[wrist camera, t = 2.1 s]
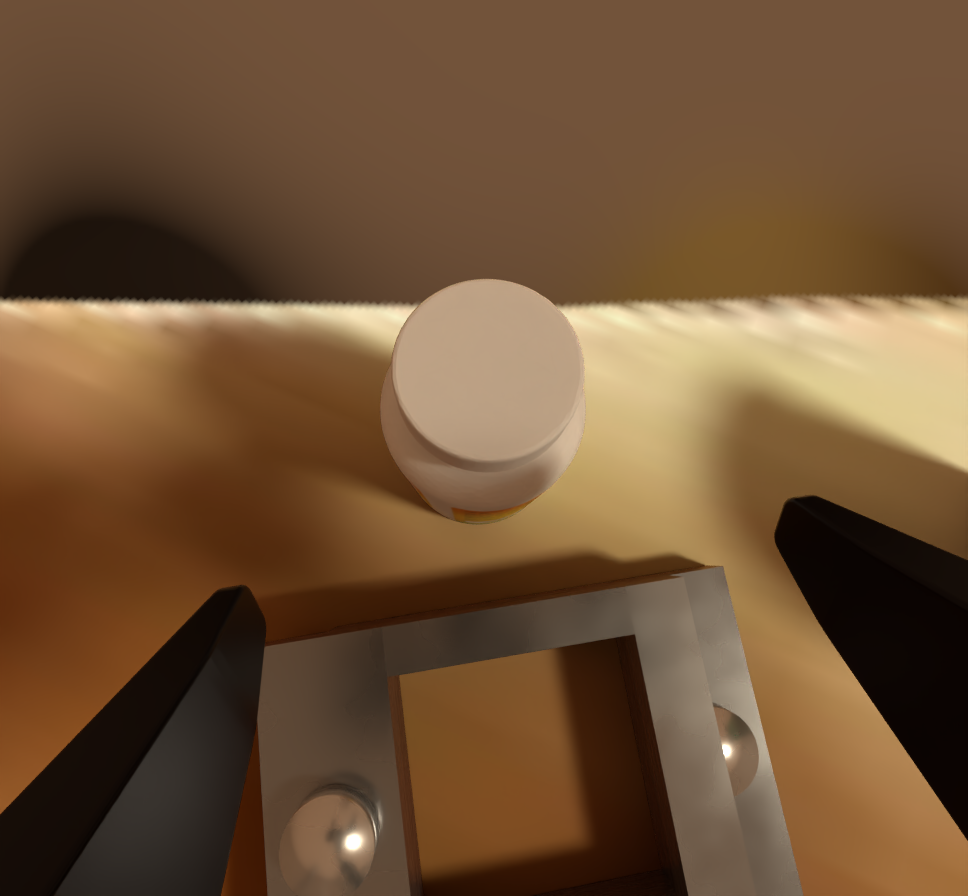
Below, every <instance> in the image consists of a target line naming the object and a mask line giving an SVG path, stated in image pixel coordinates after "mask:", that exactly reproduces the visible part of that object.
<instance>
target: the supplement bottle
mask: <svg viewBox="0 0 968 896" xmlns="http://www.w3.org/2000/svg"><path fill="white" fill-rule="evenodd" d="M584 378H585V368H584V358H583V354H582V349H581V346H580V343H579V340H578V338H577V335H576V333H575V331H574V329H573V327H572V326H571V324H570V323H569V321H568V320H567V318H566V317H565V316H564V315H563V313H562V312H561V311H560V310H559V309H558V308H557V307H556V306H555V305H553V304H552V303H551V302H550V301H549V300H548V299H547V298H545V297H543V296H541V295H540V294H539V293H537V292H535V291H534V290H531V289H529V288H527V287H525V286H522V285H519V284H516V283H512V282H509V281H503V280H495V279H477V280H469V281H464V282H460V283H457V284H454V285H451V286H449V287H446V288H444V289H442V290H440V291H438V292H436V293H435V294H433V295H431V296H430V297H428V298H427V299H426V300H425V301H423V302H422V303H421V304H420V305H419V306H418V307H417V308H416V309H415V310H414V311H413V312H412V314H411V315H410V316H409V317H408V319H407V320H406V322H405V323H404V325H403V327H402V328H401V330H400V333H399V335H398V337H397V339H396V342H395V346H394V350H393V354H392V362H391V364H390V367H389V369H388V371H387V373H386V376H385V379H384V383H383V387H382V393H381V401H380V418H381V426H382V431H383V435H384V438H385V441H386V444H387V446H388V449H389V451H390V454H391V455H392V457H393V459H394V461H395V463H396V464H397V466H398V468H399V469H400V471H401V472H402V473H403V475H404V476H405V477H406V478H407V479H408V480H409V482H410V483H411V484H412V486H413V487H414V488H415V490H416V491H417V493H418V494H419V495H420V496H421V498H422V499H423V500H424V501H425V502H426V503H427V504H428V505H429V506H430V507H432V508H433V509H434V510H436V511H437V512H439V513H440V514H442V515H443V516H445V517H447V518H449V519H452V520H454V521H458V522H462V523H467V524H488V523H494V522H498V521H501V520H504V519H506V518H508V517H511V516H513V515H514V514H516V513H518V512H519V511H521V510H522V509H523V508H524V507H526V506H527V505H528V504H529V503H531V502H532V501H533V500H534V499H536V498H537V497H538V496H540V495H541V494H542V493H544V492H545V491H546V490H547V489H548V488H550V487H551V486H552V485H553V484H554V483H555V482H556V481H557V480H558V479H559V478H560V477H561V475H562V474H563V473H564V472H565V470H566V469H567V468H568V466H569V465H570V463H571V462H572V460H573V458H574V456H575V454H576V452H577V450H578V448H579V445H580V442H581V439H582V436H583V431H584V425H585V408H586V406H585V394H584V389H583V387H584Z"/></svg>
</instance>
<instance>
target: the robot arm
mask: <svg viewBox="0 0 968 896" xmlns="http://www.w3.org/2000/svg"><path fill="white" fill-rule="evenodd" d="M774 538H775V543H776V546H777V548H778V550H779V552H780V554H781V556H782V557H783V559H784V561H785V563H786V565H787V566H788V568H789V570H790V572H791V574H792V576H793V577H794V579H795V581H796V583H797V585H798V586H799V588H800V590H801V592H802V594H803V595H804V597H805V599H806V601H807V603H808V605H809V606H810V608H811V610H812V612H813V614H814V615H815V617H816V619H817V620H818V622H819V624H820V625H821V627H822V629H823V630H824V632H825V633H826V635H827V636H828V638H829V639H830V641H831V642H832V644H833V645H834V647H835V648H836V650H837V651H838V652H839V654H840V655H841V657H842V658H843V660H844V661H845V663H846V664H847V666H848V667H849V668H850V670H851V671H852V673H853V674H854V676H855V677H856V679H857V680H858V682H859V683H860V685H861V686H862V687H863V689H864V690H865V692H866V693H867V695H868V696H869V698H870V699H871V701H872V702H873V703H874V705H875V706H876V708H877V709H878V711H879V712H880V714H881V715H882V717H883V718H884V719H885V721H886V722H887V724H888V725H889V727H890V728H891V730H892V731H893V733H894V734H895V736H896V737H897V738H898V740H899V741H900V743H901V744H902V746H903V747H904V749H905V750H906V752H907V753H908V754H909V756H910V757H911V759H912V760H913V762H914V763H915V765H916V766H917V768H918V769H919V771H920V772H921V773H922V775H923V776H924V778H925V779H926V781H927V782H928V784H929V785H930V787H931V788H932V789H933V791H934V792H935V794H936V795H937V797H938V798H939V800H940V801H941V803H942V804H943V805H944V807H945V808H946V810H947V811H948V813H949V814H950V816H951V817H952V819H953V820H954V822H955V823H956V824H957V826H958V827H959V829H960V830H961V832H962V833H963V835H964V836H965V838H966V839H967V840H968V560H966V559H963V558H961V557H959V556H956V555H954V554H951V553H949V552H947V551H944V550H942V549H940V548H937V547H935V546H933V545H930V544H928V543H926V542H923V541H921V540H919V539H916V538H914V537H912V536H909V535H907V534H905V533H902V532H900V531H898V530H895V529H893V528H891V527H888V526H886V525H884V524H881V523H879V522H877V521H874V520H872V519H870V518H867V517H865V516H863V515H860V514H858V513H855V512H853V511H851V510H848V509H846V508H844V507H841V506H839V505H837V504H834V503H832V502H830V501H827V500H825V499H823V498H820V497H818V496H815V495H805V496H799V497H793V498H789V499H788V500H787V501H786V502H785V503H784V505H783V508H782V511H781V514H780V517H779V520H778V523H777V526H776V529H775V533H774ZM265 638H266V622H265V618H264V615H263V613H262V611H261V609H260V607H259V605H258V604H257V602H256V600H255V598H254V596H253V594H252V592H251V590H250V589H249V588H248V587H247V586H245V585H238V586H232V587H226V588H221V589H219V590H217V591H216V592H215V593H214V594H213V595H212V596H211V597H210V598H209V599H208V600H207V601H206V602H205V603H204V604H203V605H202V606H201V607H200V608H199V609H198V610H197V611H196V612H195V613H194V614H193V615H192V616H191V617H190V618H189V619H188V620H187V622H186V623H185V624H184V625H183V626H182V627H181V628H180V629H179V630H178V631H177V632H176V633H175V634H174V635H173V636H172V637H171V638H170V639H169V640H168V641H167V642H166V643H165V644H164V645H163V646H162V647H161V648H160V649H159V651H158V652H157V653H156V654H155V655H154V656H153V657H152V658H151V659H150V660H149V661H148V662H147V663H146V664H145V665H144V666H143V667H142V668H141V669H140V670H139V671H138V672H137V673H136V674H135V675H134V676H133V677H132V678H131V680H130V681H129V682H128V683H127V684H126V685H125V686H124V687H123V688H122V689H121V690H120V691H119V692H118V693H117V694H116V695H115V696H114V697H113V698H112V699H111V700H110V701H109V702H108V703H107V704H106V705H105V706H104V707H103V709H102V710H101V711H100V712H99V713H98V714H97V715H96V716H95V717H94V718H93V719H92V720H91V721H90V722H89V723H88V724H87V725H86V726H85V727H84V728H83V729H82V730H81V731H80V732H79V733H78V734H77V735H76V736H75V738H74V739H73V740H72V741H71V742H70V743H69V744H68V745H67V746H66V747H65V748H64V749H63V750H62V751H61V752H60V753H59V754H58V755H57V756H56V757H55V758H54V759H53V760H52V761H51V762H50V763H49V764H48V765H47V767H46V768H45V769H44V770H43V771H42V772H41V773H40V774H39V775H38V776H37V777H36V778H35V779H34V780H33V781H32V782H31V783H30V784H29V785H28V786H27V787H26V788H25V789H24V790H23V791H22V792H21V793H20V794H19V796H18V797H17V798H16V799H15V800H14V801H13V802H12V803H11V804H10V805H9V806H8V807H7V808H6V809H5V810H4V811H3V812H2V813H1V814H0V896H221V891H222V887H223V882H224V877H225V873H226V868H227V863H228V859H229V854H230V849H231V844H232V840H233V835H234V830H235V826H236V821H237V816H238V812H239V807H240V802H241V797H242V793H243V788H244V783H245V779H246V774H247V769H248V765H249V760H250V755H251V750H252V746H253V741H254V735H255V730H256V724H257V716H258V707H259V697H260V687H261V677H262V668H263V658H264V648H265Z"/></svg>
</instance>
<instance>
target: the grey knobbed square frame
mask: <svg viewBox="0 0 968 896" xmlns="http://www.w3.org/2000/svg"><path fill="white" fill-rule="evenodd" d="M615 637H616V640H617V645H618V650H619V656H620V661H621V666H622V671H623V676H624V681H625V686H626V691H627V696H628V701H629V706H630V711H631V716H632V721H633V727H634V732H635V737H636V742H637V747H638V752H639V757H640V762H641V767H642V772H643V777H644V782H645V787H646V793H647V798H648V803H649V808H650V813H651V818H652V823H653V828H654V833H655V838H656V843H657V848H658V853H659V858H660V864H661V870H656V871H651V872H646V873H642V874H637V875H632V876H627V877H622V878H617V879H613V880H608V881H603V882H598V883H593V884H589V885H584V886H579V887H574V888H569V889H565V890H560V891H555V892H550V893H545V894H541V895H536V896H803V892H802V888H801V884H800V880H799V876H798V872H797V868H796V863H795V859H794V855H793V851H792V847H791V843H790V839H789V835H788V831H787V827H786V823H785V818H784V814H783V810H782V806H781V802H780V798H779V794H778V790H777V786H776V782H775V778H774V773H773V769H772V765H771V761H770V757H769V753H768V749H767V745H766V741H765V737H764V733H763V728H762V724H761V720H760V716H759V712H758V708H757V704H756V700H755V696H754V692H753V688H752V684H751V679H750V675H749V671H748V667H747V663H746V659H745V655H744V651H743V647H742V643H741V639H740V634H739V630H738V626H737V622H736V618H735V614H734V610H733V606H732V602H731V598H730V594H729V589H728V585H727V581H726V577H725V573H724V569H723V566H708V565H706V566H700V567H694V568H688V569H682V570H676V571H670V572H664V573H658V574H652V575H646V576H640V577H634V578H628V579H622V580H616V581H610V582H604V583H598V584H592V585H586V586H580V587H574V588H568V589H561V590H555V591H549V592H543V593H537V594H531V595H525V596H519V597H513V598H507V599H501V600H495V601H489V602H483V603H477V604H471V605H465V606H459V607H453V608H447V609H441V610H435V611H429V612H423V613H416V614H410V615H404V616H398V617H392V618H386V619H380V620H374V621H368V622H362V623H356V624H350V625H344V626H338V627H336V628H334V629H332V630H330V631H329V632H324V633H318V634H312V635H306V636H300V637H294V638H288V639H282V640H276V641H270V642H266V643H265V648H264V658H263V668H262V677H261V687H260V697H259V707H258V716H257V722H258V739H259V756H260V774H261V791H262V808H263V825H264V842H265V859H266V876H267V893H268V896H424V895H423V886H422V877H421V868H420V859H419V850H418V842H417V833H416V824H415V815H414V806H413V797H412V788H411V779H410V771H409V762H408V753H407V744H406V735H405V726H404V717H403V708H402V699H401V691H400V682H399V675H402V674H408V673H414V672H420V671H425V670H431V669H437V668H443V667H448V666H454V665H460V664H466V663H471V662H477V661H483V660H489V659H494V658H500V657H506V656H512V655H517V654H523V653H529V652H535V651H541V650H546V649H552V648H558V647H564V646H569V645H575V644H581V643H587V642H592V641H598V640H604V639H610V638H615Z"/></svg>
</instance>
